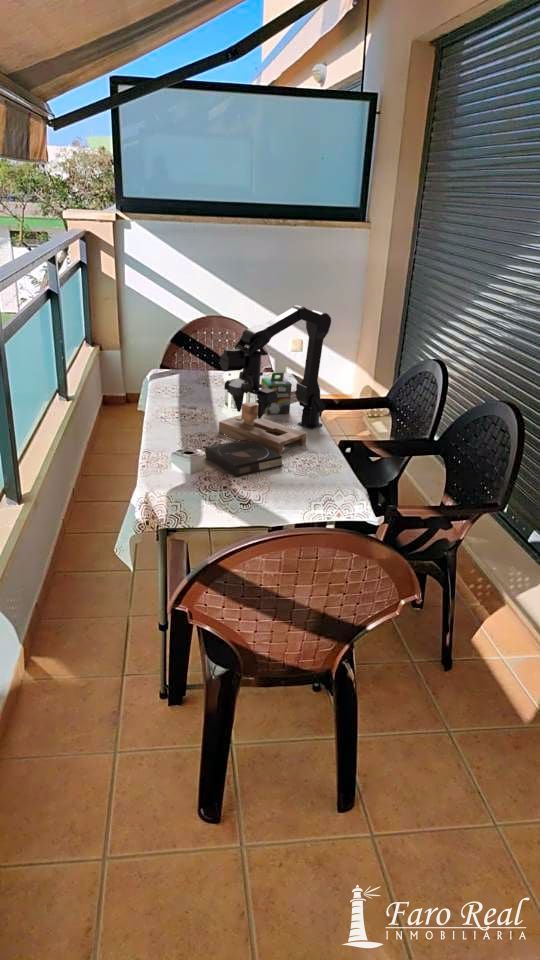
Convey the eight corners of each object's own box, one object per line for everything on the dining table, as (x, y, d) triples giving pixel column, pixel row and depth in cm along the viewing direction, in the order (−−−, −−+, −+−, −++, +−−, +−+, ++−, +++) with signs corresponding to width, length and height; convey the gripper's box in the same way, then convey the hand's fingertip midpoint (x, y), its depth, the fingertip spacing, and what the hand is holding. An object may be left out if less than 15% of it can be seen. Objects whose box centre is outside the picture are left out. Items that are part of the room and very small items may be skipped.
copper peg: (247, 430, 229) (249, 401, 225) (257, 434, 226) (259, 404, 222) (238, 433, 226) (240, 403, 221) (248, 437, 223) (250, 407, 219)
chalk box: (282, 406, 257) (285, 368, 251) (290, 413, 249) (293, 374, 243) (259, 407, 254) (261, 368, 248) (266, 414, 246) (269, 375, 240)
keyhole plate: (246, 424, 235) (247, 412, 233) (305, 444, 220) (306, 432, 218) (218, 432, 225) (219, 420, 223) (278, 454, 210) (279, 442, 208)
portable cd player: (235, 479, 192) (236, 466, 190) (205, 459, 204) (205, 446, 203) (281, 469, 201) (282, 456, 199) (249, 450, 213) (250, 438, 212)
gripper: (213, 366, 217) (212, 412, 223) (256, 379, 206) (254, 427, 212) (237, 361, 225) (234, 406, 231) (280, 373, 214) (276, 420, 220)
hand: (249, 415), depth 223 cm, fingers open, 9 cm apart
